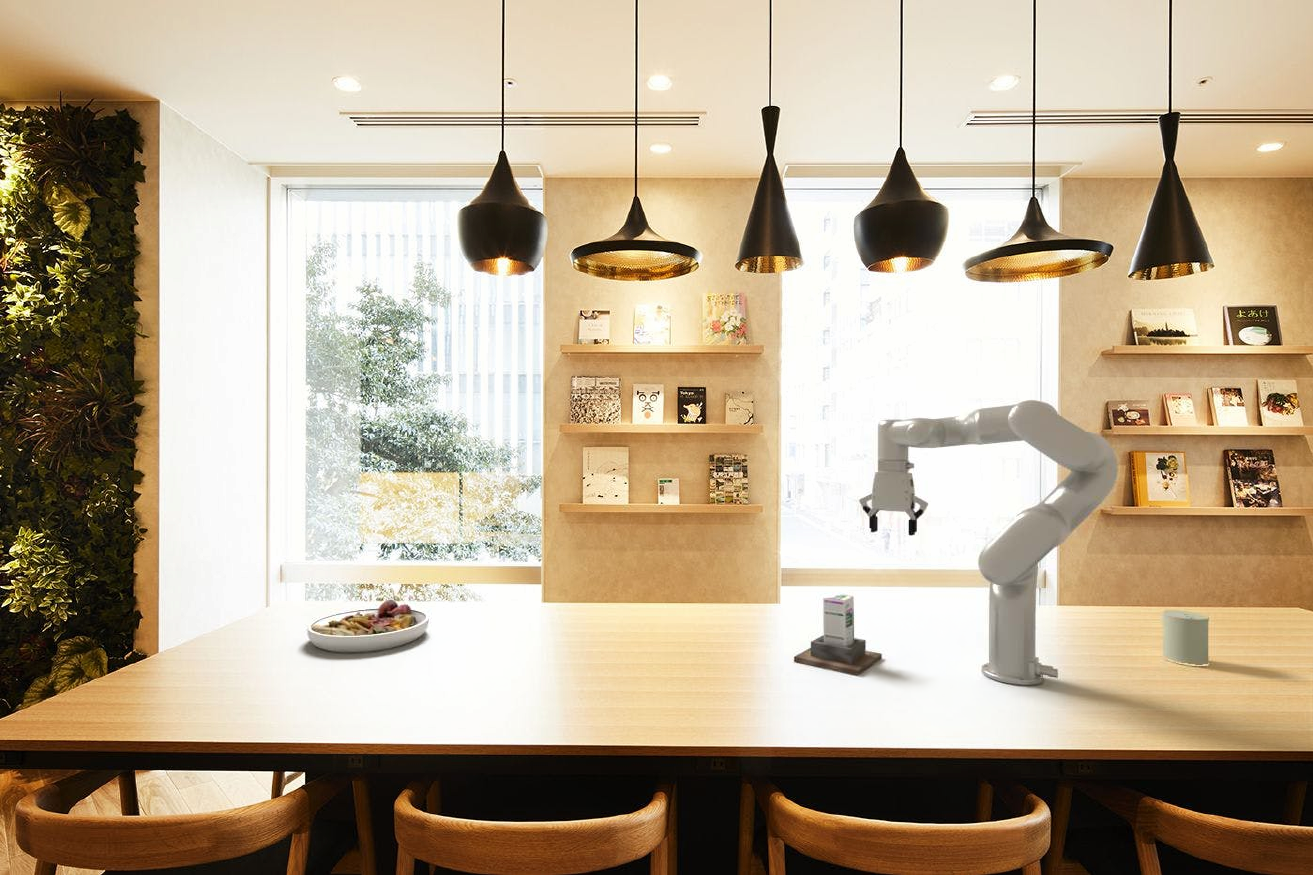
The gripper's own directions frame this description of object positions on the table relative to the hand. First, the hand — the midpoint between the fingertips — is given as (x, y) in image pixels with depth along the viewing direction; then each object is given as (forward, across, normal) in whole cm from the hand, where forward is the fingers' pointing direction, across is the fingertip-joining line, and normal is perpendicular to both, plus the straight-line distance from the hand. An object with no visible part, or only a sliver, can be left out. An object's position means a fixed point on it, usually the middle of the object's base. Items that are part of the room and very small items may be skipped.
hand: (892, 533), depth 173 cm
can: (+31, -60, -38) cm, 77 cm away
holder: (+30, +8, +16) cm, 35 cm away
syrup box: (+29, +8, +16) cm, 34 cm away
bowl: (+31, +114, +78) cm, 142 cm away
